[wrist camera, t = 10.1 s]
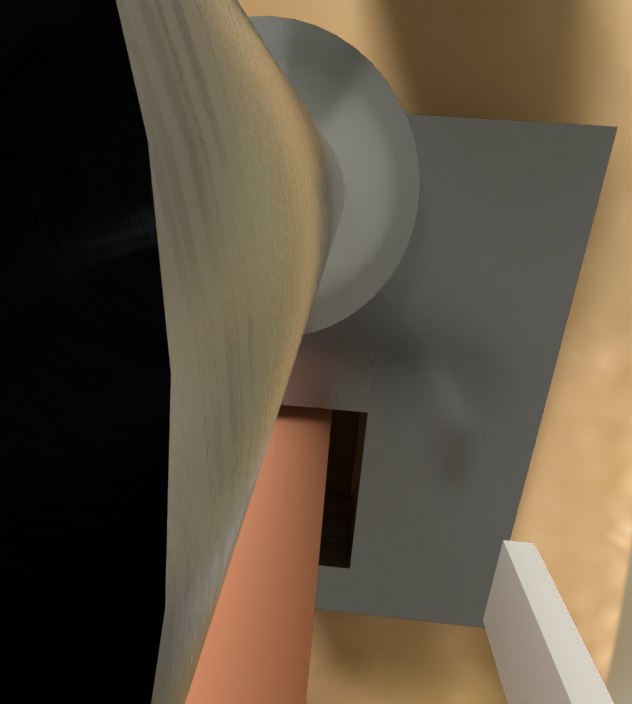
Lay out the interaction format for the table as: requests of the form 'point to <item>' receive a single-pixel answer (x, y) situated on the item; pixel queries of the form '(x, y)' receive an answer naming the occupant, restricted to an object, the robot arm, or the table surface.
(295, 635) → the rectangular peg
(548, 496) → the table surface
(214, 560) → the socket base with post
